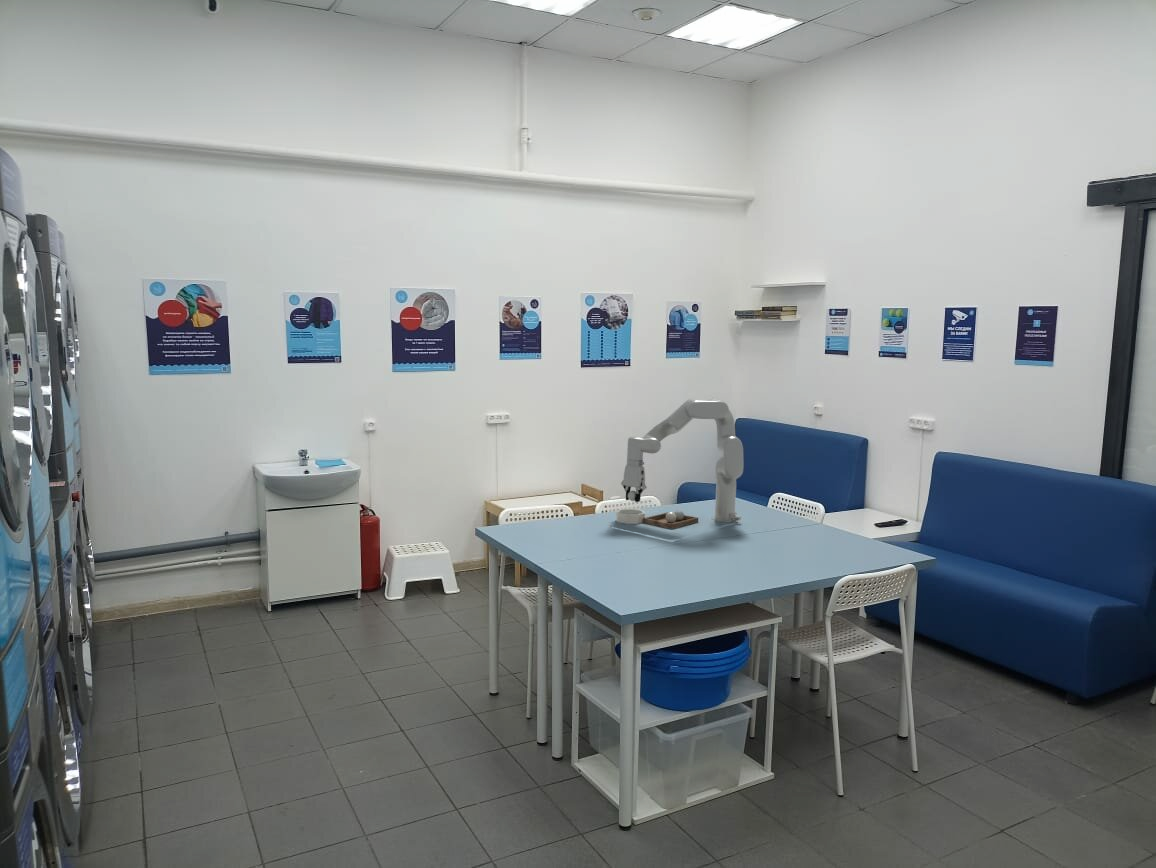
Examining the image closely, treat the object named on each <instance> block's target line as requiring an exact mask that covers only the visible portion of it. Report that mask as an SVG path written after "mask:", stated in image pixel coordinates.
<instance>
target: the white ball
mask: <svg viewBox="0 0 1156 868" xmlns="http://www.w3.org/2000/svg"><path fill="white" fill-rule="evenodd" d="M635 494H637V493H636V490H630V492H629V493H628V499H629V500H628V501H631V502H635Z"/></svg>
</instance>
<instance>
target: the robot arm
mask: <svg viewBox="0 0 1156 868" xmlns="http://www.w3.org/2000/svg"><path fill="white" fill-rule="evenodd" d="M693 419H697V420H714V421H715V423H716V439H717V440H716V442H717V443H716V444H717V445H716V446H717V448H718V452H721V453H722V454H723V456H721V457H719V458H718V460H717V461H716V463H715V476H716V477H715V478H716V482H715V483H716V484H715V485H716V486H715V487H716V488H715V502H714V504H715V507H714V516H712V517H711V520H713V521H717V522H721V523H732V524H736V523H737V522H739V521H741V520H742V516H741V515H738V512H737V511H736V496H737V479H739V478H740V477H742V475H743V473H744V465H745V464H744V446H743V443H742V440H741V439H740V438H739V437H737V436H736V426H735V425H736V424H735V419H734V416H733V413H732V412H731V410H730V409H729V406H728V403H726V402H725V401H723V400H719V399H715V398H712V399H709V400H698V399H694V398H693V399H692V398H691V399H688V400H686V401H685V402H682V404H681V405H680V406H679V407H678V408H677V409H675V410H674V412H672V413H670V415H669V416H668V417H666V418H665V419H664V420H662V421H661V422H660V423H658V424H656V425H655V426H654V427H652V429H650V430H649V431H648V432H647V433H646V434H645V435H644V436H642V437H640V436H630V437H628V440H627V452H626V454H627V455H626V456H627V457H626V465H625V467H624V473H623V479H622V481H621V483H620V485H622V488H623V489H624V491H625V500H626V501H630V500H629V499H628V493H629V492H630V491H632V490H631V489H632V488H635V491H636V493H637V494H635V501H634V502H635V503H639V502H641V496H642V495H641V494H642V493H643V492H644V491H645V490H646V489H647V488H648V487H647V486H646V471H645V467H644V466H643V465H645V462H644V461H643V460H644V453H645V454H653V455H654V454H657V453H658V452H659V451H661V448H662V445H661V442H662V441H663V440H665V439H666V438H667V437H669V436H671V435H674V434H677V433H678V432H680V431H681V430H683V429H684V427H686V425H688V424H690V422H691V421H692V420H693Z"/></svg>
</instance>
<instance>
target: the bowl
mask: <svg viewBox="0 0 1156 868" xmlns="http://www.w3.org/2000/svg"><path fill="white" fill-rule="evenodd" d="M615 513H616V518H615V519H616V521H617V523H621V524H622V523H623V524H629V525H630V524H632V525H633V524H634V525H636V524H637V525H639V524H642V523H643V518H646V512H645V511H644V510H641V509H637V508H621V509H618V510H616V512H615ZM643 524H644V523H643Z"/></svg>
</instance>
